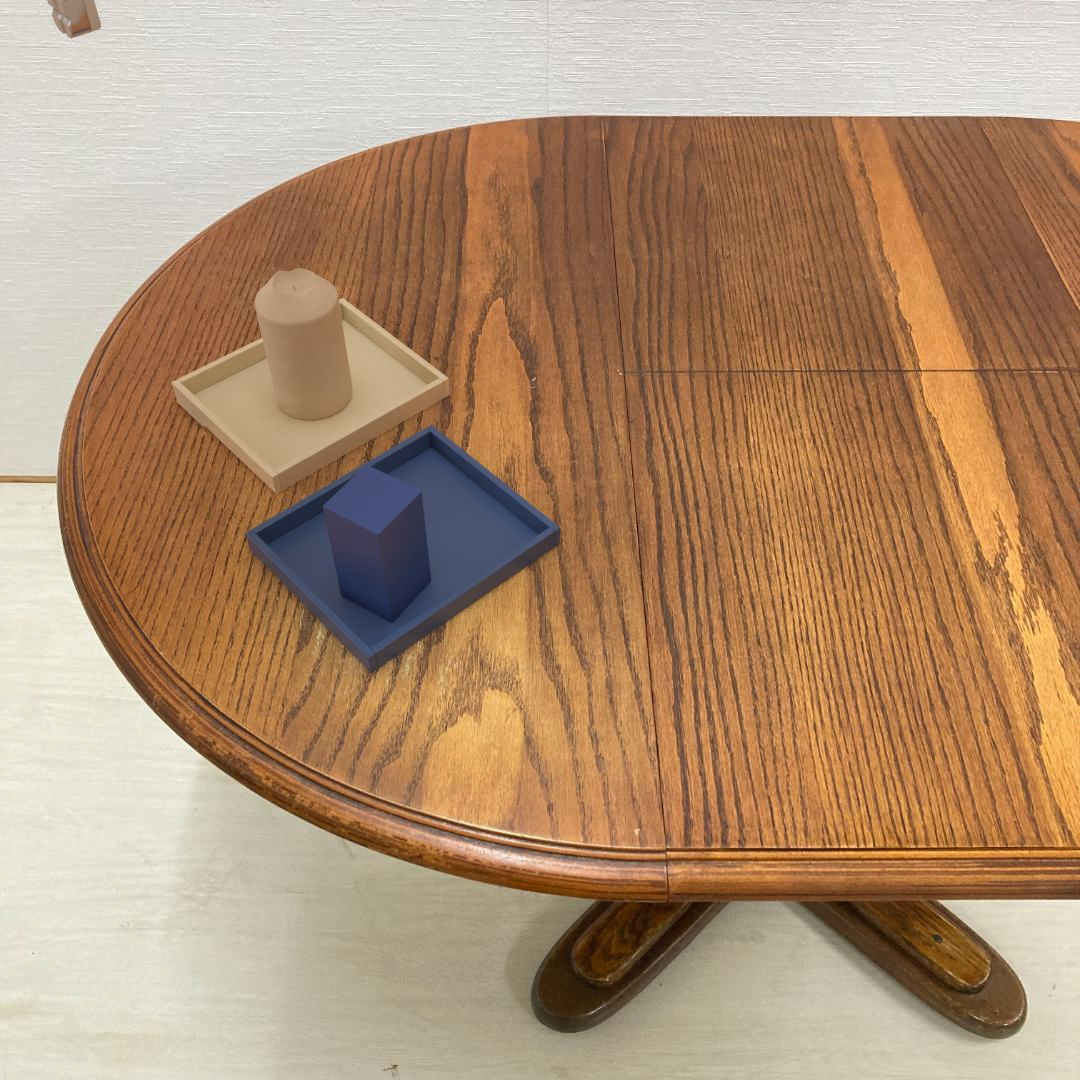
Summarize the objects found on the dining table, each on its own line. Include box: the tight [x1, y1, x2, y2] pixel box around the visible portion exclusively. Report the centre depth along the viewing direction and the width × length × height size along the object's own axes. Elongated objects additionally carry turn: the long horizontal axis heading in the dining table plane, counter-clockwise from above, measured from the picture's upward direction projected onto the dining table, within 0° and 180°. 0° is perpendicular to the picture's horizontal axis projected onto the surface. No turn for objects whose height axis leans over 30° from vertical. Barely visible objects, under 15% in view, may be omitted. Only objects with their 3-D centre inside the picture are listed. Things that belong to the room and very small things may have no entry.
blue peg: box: [323, 465, 431, 623], centre depth 66 cm, size 4×4×8 cm
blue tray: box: [244, 424, 561, 674], centre depth 70 cm, size 15×13×2 cm
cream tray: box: [171, 297, 451, 494], centre depth 80 cm, size 15×13×2 cm
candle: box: [254, 267, 352, 420], centre depth 77 cm, size 6×6×10 cm
